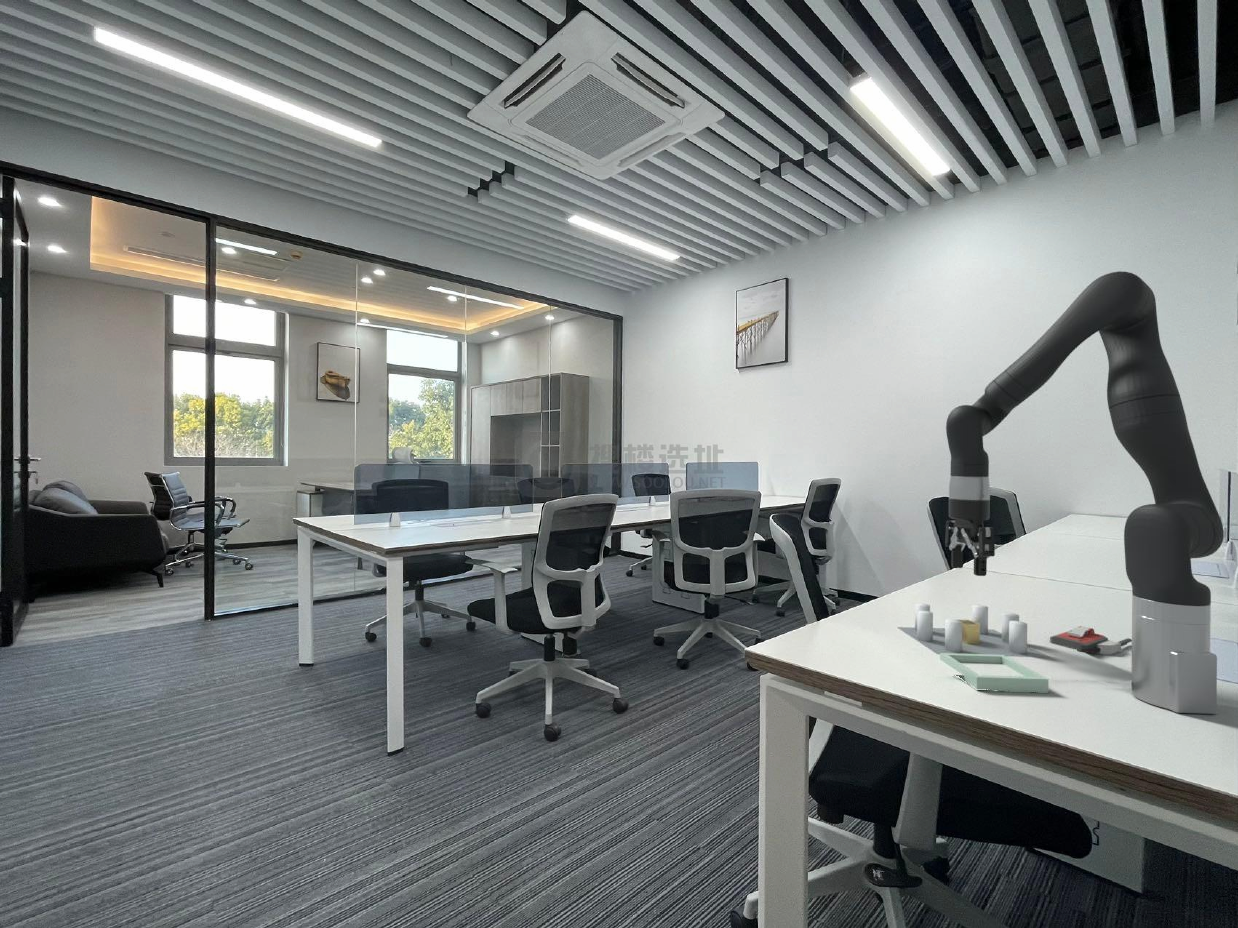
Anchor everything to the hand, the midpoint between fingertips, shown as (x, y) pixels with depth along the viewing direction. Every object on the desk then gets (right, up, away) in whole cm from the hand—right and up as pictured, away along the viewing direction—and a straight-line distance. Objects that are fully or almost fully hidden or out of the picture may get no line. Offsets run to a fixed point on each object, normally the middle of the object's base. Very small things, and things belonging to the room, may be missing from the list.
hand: (968, 571), depth 117 cm
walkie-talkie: (+27, -17, 0) cm, 32 cm away
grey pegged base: (0, -16, 0) cm, 16 cm away
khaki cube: (0, -15, 0) cm, 15 cm away
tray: (-7, -16, -18) cm, 25 cm away
